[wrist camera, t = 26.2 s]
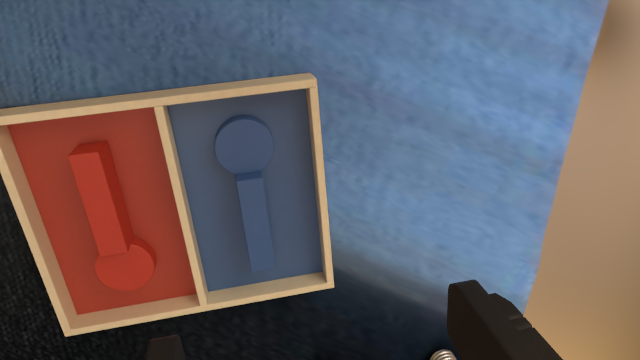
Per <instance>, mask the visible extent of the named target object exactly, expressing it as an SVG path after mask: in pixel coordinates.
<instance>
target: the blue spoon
mask: <svg viewBox="0 0 640 360" xmlns="http://www.w3.org/2000/svg"><path fill="white" fill-rule="evenodd" d="M214 151H215V156H216V158H217V160H218V162H219V163H220V164H221V166H222V167H223V168H225V169H226V170H227V171H229V172H231V173H233V174H235V176H236V187H237V193H238V198H239V204H240V210H241V216H242V222H243V227H244V233H245V239H246V245H247V251H248V257H249V262H250V268H251V272H258V271H263V270H269V269H275V268H276V264H275V257H274V250H273V243H272V237H271V230H270V223H269V216H268V209H267V202H266V195H265V188H264V181H263V175H262V170H263V169H264V168H265V167H266V166H267V165H268V164H269V163H270V161H271V159H272V157H273V154H274V141H273V137H272V134H271V132H270V130H269V128H268V127H267V126H266V125H265V124H264V123H263V122H262V121H261V120H259V119H257V118H255V117H252V116H244V115H243V116H236V117H233V118H231V119H228V120H227V121H225V122H224V123H223V124H222V125H221V126H220V128H219V129H218V131H217V133H216V136H215V142H214Z"/></svg>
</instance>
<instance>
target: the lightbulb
mask: <svg viewBox="0 0 640 360" xmlns="http://www.w3.org/2000/svg"><path fill="white" fill-rule="evenodd" d="M430 360H456V358H455V356H454V354H453V353H452V352H451V351H450V350H440V351H437V352H436V353H434V354H433V355H432V357H431V359H430Z"/></svg>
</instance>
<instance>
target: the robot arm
mask: <svg viewBox="0 0 640 360" xmlns="http://www.w3.org/2000/svg"><path fill="white" fill-rule="evenodd" d="M447 329H448V333H449V337H450V340H451V342H452V344H453V346H454V347H455V349H456V351H457V352H458V354H459V355H460V357H461V359H462V360H563V359H562V358H561V357H560V356H559V355H558V354H557V353H556V352H555V350H554V349H553V348H552V347H551V346H550V345H549V344H548V343H547V342H546V340H545V339H544V338H543V337H542V336H541V335H540V334H539V333H538V332H537V330H536V329H535V328H532V325H531V324H530V323H529V321H527V319H526V318H525V317H523V315H522V314H521V312H520V311H519V310H518V309H517V308H516V307H515V306H514V305H513V304H512V303H511V302H510V301H508V300H506V299H505V298H503V297H501V296H500V295H498V294H496V293H494V294H488V293H487V292H486V291H485V290H484V289H483V287H482V286H481V285H480V284H479V283H478V282H477V281H476V280H469V281H463V282H458V283H453V284H450V285H449V288H448V310H447ZM145 360H186V358H185V355H184V351H183V347H182V343H181V340H180V337H179V335H172V336H167V337H162V338H156V339H151V340H150V342H149V345H148V349H147V354H146V359H145Z"/></svg>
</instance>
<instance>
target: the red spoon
mask: <svg viewBox="0 0 640 360" xmlns="http://www.w3.org/2000/svg"><path fill="white" fill-rule="evenodd" d="M68 159H69V163H70V166H71V169H72V172H73V175H74V178H75V181H76V184H77V187H78V190H79V193H80V196H81V199H82V202H83V205H84V208H85V212H86V215H87V218H88V221H89V224H90V227H91V230H92V233H93V236H94V239H95V242H96V245H97V248H98V251H99V253H98V255H97V257H96V260H95V265H94V267H95V272H96V275H97V277H98V278H99V279H100V281H101V282H102V283H103V284H105V285H106V286H108V287H110V288H112V289H115V290H120V291H131V290H135V289H138V288H140V287H142V286H144V285H145V284H147V283H148V282H149V281H150V279H151V278H152V276H153V273H154V270H155V266H156V255H155V252H154V250H153V249H152V247H151V246H150V245H149V244H148V243H146V242H145V241H143V240H141V239H139V238H136V237H134V234H133V230H132V227H131V223H130V220H129V216H128V213H127V209H126V206H125V202H124V199H123V195H122V192H121V188H120V185H119V181H118V178H117V174H116V171H115V167H114V164H113V160H112V157H111V153H110V150H109V146H108V143H107V141H100V142H92V143H85V144H78V145H77V146H76V147H75V148H74V150H73V151H72V152H71V153H70V154H69V155H68Z"/></svg>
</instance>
